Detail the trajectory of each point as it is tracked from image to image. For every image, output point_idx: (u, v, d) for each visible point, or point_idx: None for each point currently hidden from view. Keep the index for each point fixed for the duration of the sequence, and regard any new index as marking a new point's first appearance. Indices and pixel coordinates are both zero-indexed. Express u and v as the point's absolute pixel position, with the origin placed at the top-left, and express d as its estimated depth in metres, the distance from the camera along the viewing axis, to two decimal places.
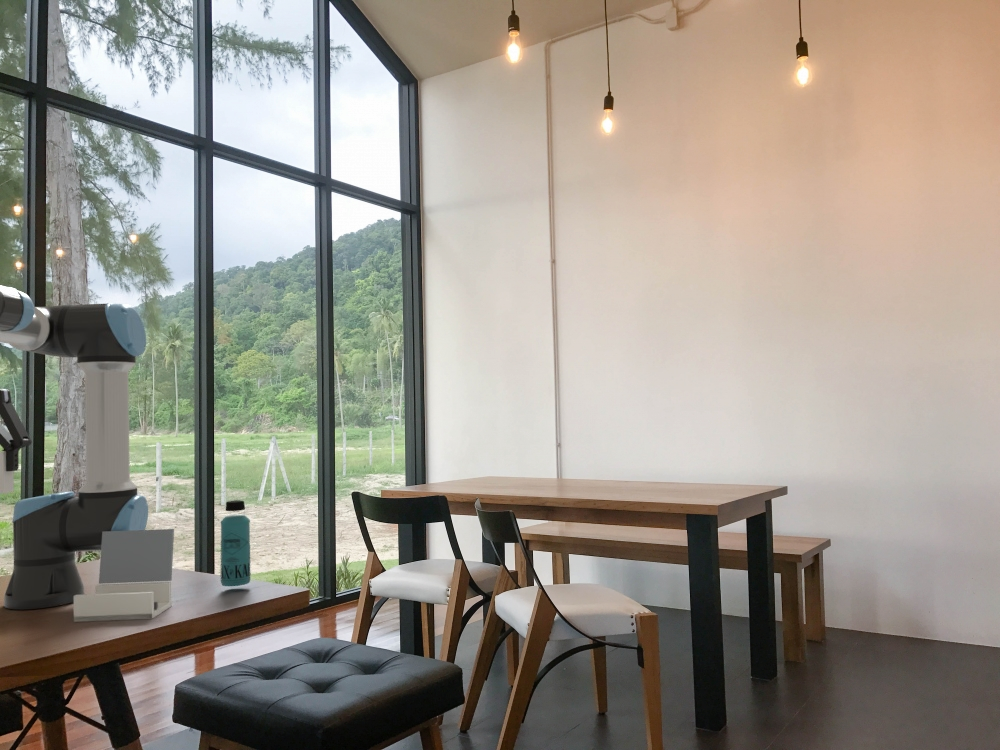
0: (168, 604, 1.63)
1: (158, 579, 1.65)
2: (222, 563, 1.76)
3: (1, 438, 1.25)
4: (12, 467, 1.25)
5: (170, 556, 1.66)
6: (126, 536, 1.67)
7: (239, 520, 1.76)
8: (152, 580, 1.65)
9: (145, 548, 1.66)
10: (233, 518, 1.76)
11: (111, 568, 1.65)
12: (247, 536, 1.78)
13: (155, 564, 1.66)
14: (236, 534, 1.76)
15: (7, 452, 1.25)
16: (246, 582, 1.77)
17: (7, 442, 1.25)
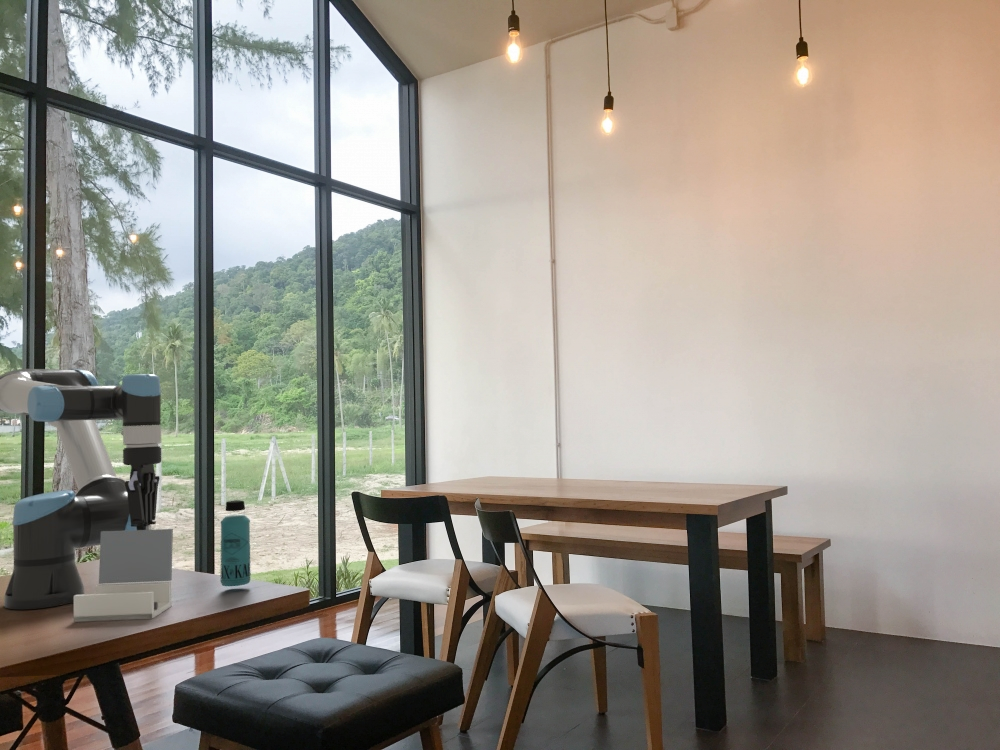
0: (168, 604, 1.63)
1: (158, 579, 1.65)
2: (222, 563, 1.76)
3: None
4: None
5: (169, 556, 1.66)
6: (125, 536, 1.66)
7: (239, 520, 1.76)
8: (152, 580, 1.65)
9: (144, 548, 1.66)
10: (233, 518, 1.76)
11: (111, 568, 1.65)
12: (247, 536, 1.78)
13: (154, 564, 1.65)
14: (236, 534, 1.76)
15: None
16: (246, 582, 1.77)
17: None
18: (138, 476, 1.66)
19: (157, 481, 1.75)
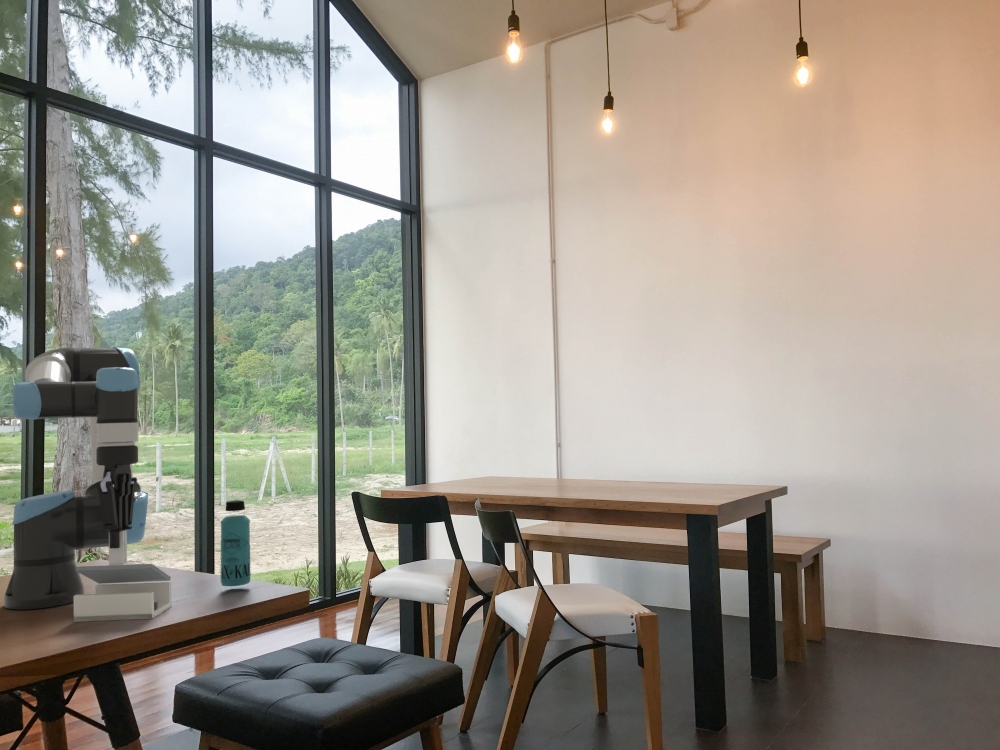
0: (168, 604, 1.63)
1: (157, 580, 1.65)
2: (222, 563, 1.76)
3: None
4: (110, 545, 1.56)
5: (160, 574, 1.61)
6: (104, 571, 1.56)
7: (239, 520, 1.76)
8: (152, 581, 1.65)
9: (130, 573, 1.59)
10: (233, 518, 1.76)
11: (104, 579, 1.62)
12: (247, 536, 1.78)
13: (147, 577, 1.62)
14: (236, 534, 1.76)
15: None
16: (246, 582, 1.77)
17: None
18: (111, 477, 1.54)
19: (134, 483, 1.63)
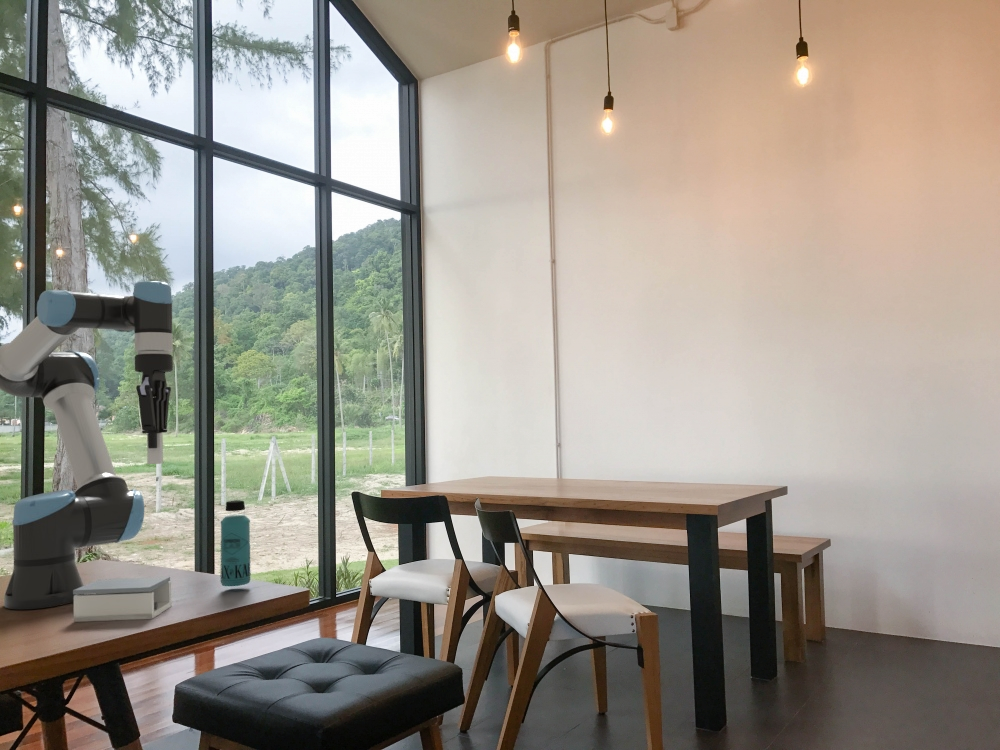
0: (168, 604, 1.63)
1: None
2: (222, 563, 1.76)
3: None
4: None
5: (159, 585, 1.60)
6: None
7: (239, 520, 1.76)
8: None
9: None
10: (233, 518, 1.76)
11: None
12: (247, 536, 1.78)
13: None
14: (236, 534, 1.76)
15: None
16: (246, 582, 1.77)
17: None
18: (149, 381, 1.67)
19: (168, 391, 1.76)
